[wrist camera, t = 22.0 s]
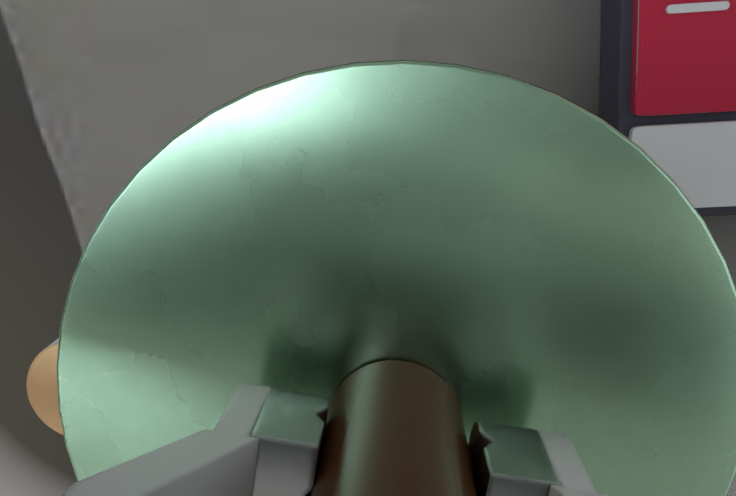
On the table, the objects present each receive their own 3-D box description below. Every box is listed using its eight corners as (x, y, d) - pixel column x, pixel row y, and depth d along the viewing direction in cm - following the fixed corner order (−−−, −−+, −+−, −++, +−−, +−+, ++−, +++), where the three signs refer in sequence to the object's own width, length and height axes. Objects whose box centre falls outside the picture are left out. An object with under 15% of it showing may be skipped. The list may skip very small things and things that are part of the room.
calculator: (925, -178, 24) (883, 211, 27) (848, -135, 29) (819, 198, 32) (630, -153, 25) (621, 223, 28) (597, -115, 29) (593, 209, 32)
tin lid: (98, 11, 11) (-199, -59, 6) (808, 120, 11) (1220, 158, 5) (76, 596, 14) (-128, 919, 9) (627, 684, 14) (773, 1068, 9)
